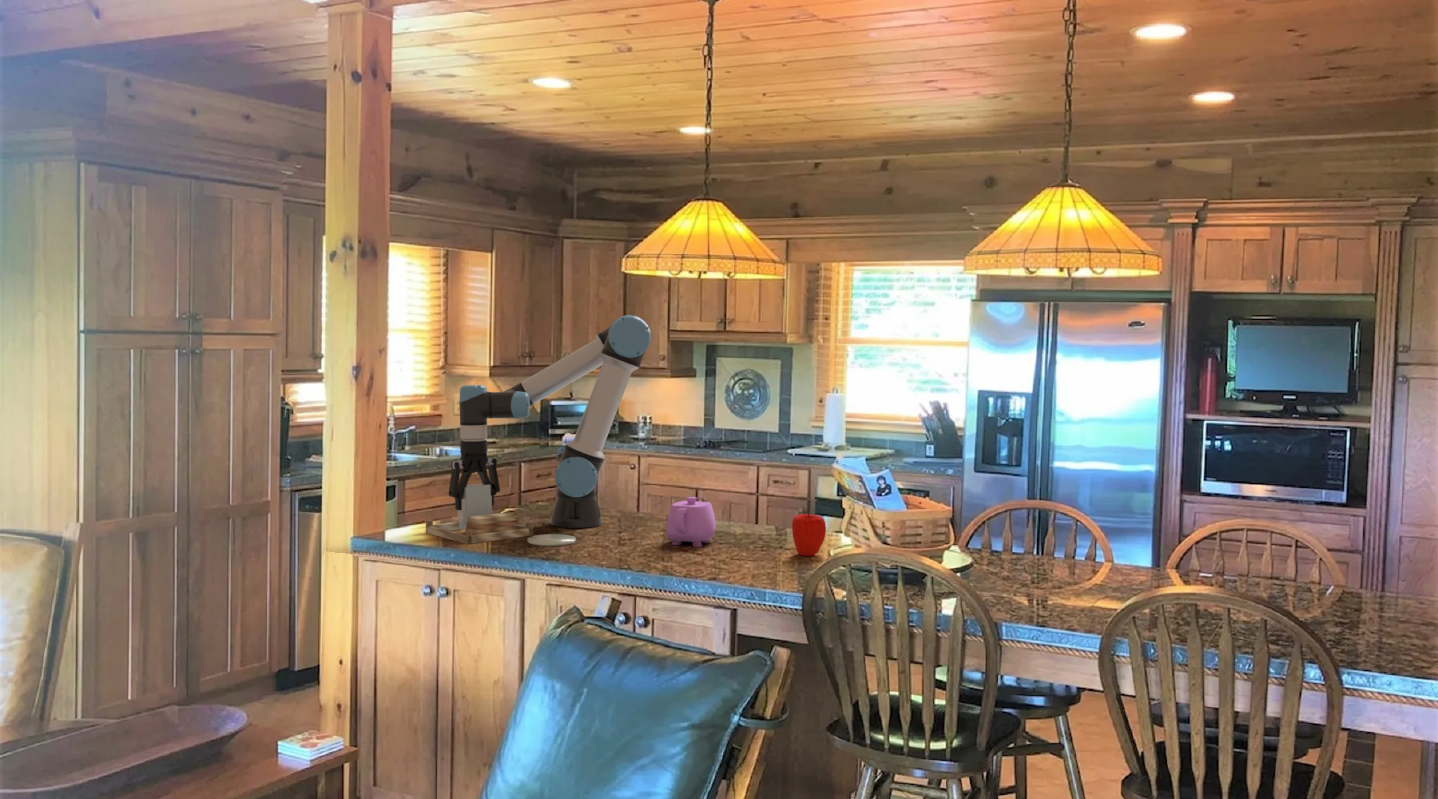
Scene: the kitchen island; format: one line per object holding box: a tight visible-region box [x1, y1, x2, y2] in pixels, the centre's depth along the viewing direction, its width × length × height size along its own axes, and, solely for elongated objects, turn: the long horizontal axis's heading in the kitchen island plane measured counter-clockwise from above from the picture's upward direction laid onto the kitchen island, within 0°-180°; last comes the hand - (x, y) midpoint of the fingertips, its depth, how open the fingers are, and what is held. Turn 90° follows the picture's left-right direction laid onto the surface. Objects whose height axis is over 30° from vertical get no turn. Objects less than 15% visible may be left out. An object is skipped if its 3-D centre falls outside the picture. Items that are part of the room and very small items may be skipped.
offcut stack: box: [466, 512, 519, 535], centre depth 319 cm, size 14×5×6 cm, turn 134°
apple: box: [791, 513, 827, 557], centre depth 301 cm, size 9×9×11 cm
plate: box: [527, 533, 577, 547], centre depth 314 cm, size 13×13×1 cm
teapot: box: [665, 496, 717, 548], centre depth 315 cm, size 20×12×13 cm, turn 160°
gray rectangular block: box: [458, 483, 491, 531], centre depth 326 cm, size 8×4×12 cm, turn 134°
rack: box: [425, 519, 534, 545], centre depth 324 cm, size 21×22×4 cm
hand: (475, 519), depth 326 cm, fingers closed on gray rectangular block, 8 cm apart
